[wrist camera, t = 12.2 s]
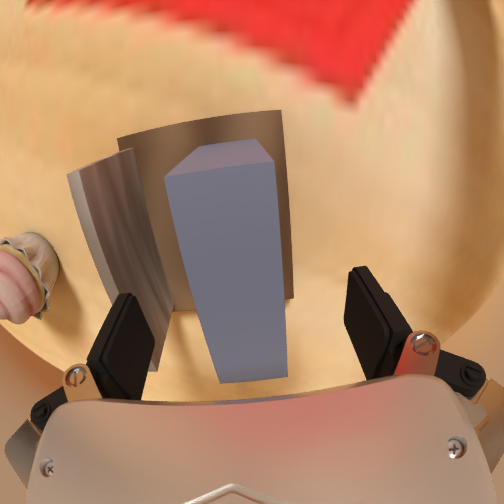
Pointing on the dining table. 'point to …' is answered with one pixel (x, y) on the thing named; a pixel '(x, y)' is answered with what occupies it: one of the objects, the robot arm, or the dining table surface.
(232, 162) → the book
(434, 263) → the dining table surface
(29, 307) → the cupcake
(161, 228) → the bent wood veneer panel
